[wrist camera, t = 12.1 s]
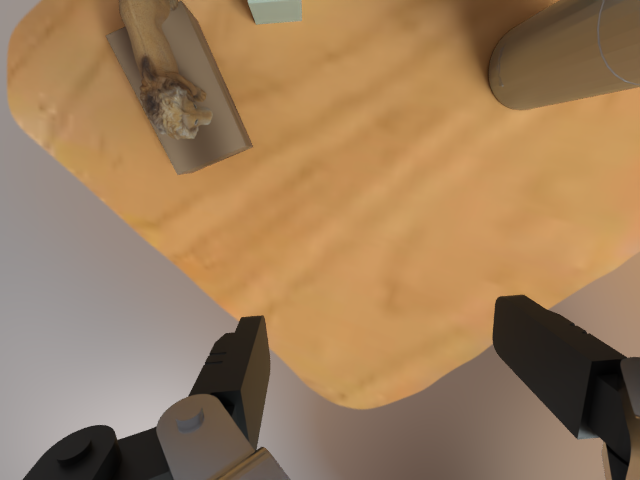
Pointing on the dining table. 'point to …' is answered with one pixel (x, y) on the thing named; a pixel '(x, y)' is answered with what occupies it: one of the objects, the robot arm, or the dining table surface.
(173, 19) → the taupe rectangular block
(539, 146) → the dining table surface
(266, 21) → the sage cube
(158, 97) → the lion figurine
